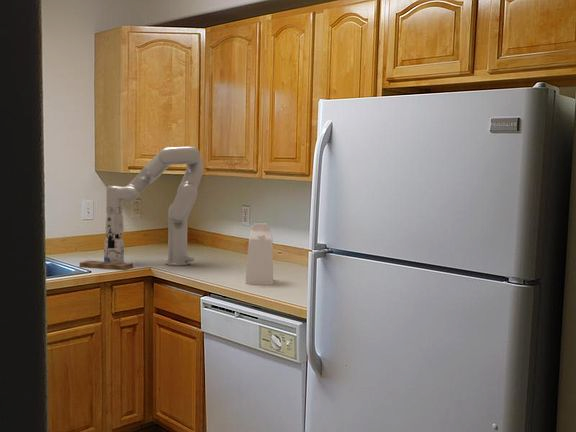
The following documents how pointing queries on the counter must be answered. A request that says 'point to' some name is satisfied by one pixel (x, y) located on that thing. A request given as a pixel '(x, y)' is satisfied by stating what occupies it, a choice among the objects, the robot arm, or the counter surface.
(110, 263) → the board
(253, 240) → the milk
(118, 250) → the ink box
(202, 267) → the counter surface
